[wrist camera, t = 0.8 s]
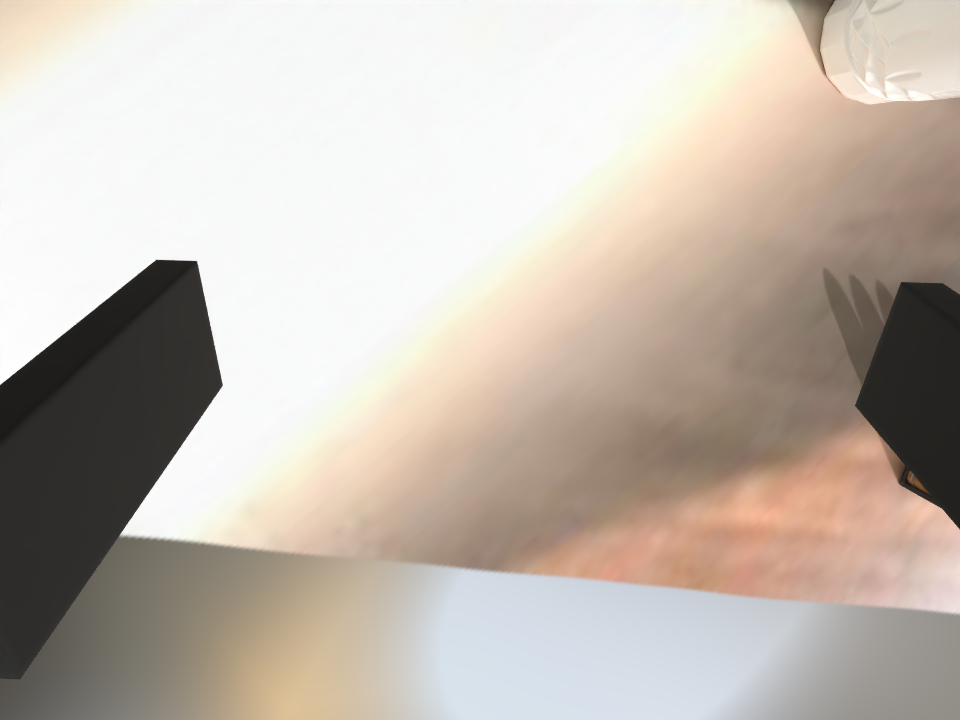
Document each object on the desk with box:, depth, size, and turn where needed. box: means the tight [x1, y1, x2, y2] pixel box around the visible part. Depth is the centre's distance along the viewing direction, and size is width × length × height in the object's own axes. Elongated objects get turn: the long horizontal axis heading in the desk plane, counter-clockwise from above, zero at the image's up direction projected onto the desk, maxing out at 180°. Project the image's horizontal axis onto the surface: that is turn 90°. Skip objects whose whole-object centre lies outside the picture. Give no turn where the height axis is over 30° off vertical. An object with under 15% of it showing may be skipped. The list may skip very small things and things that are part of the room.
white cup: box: [820, 0, 960, 104], centre depth 31 cm, size 8×8×10 cm
